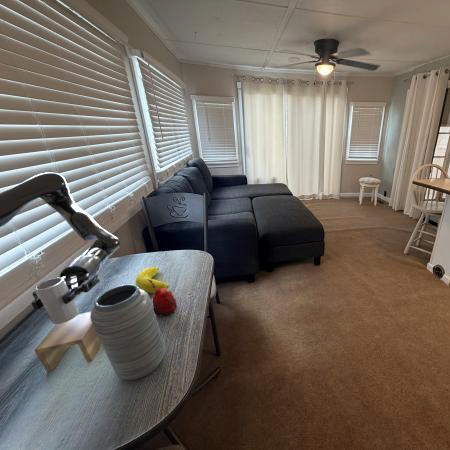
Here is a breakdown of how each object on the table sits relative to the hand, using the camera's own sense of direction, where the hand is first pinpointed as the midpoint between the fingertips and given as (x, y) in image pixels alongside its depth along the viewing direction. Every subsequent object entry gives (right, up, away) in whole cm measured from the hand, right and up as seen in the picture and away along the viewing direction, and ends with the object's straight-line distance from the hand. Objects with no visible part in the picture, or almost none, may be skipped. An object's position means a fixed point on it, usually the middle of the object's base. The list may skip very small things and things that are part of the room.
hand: (50, 303), depth 61 cm
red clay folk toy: (+17, -10, +23) cm, 30 cm away
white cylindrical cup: (-1, -5, +5) cm, 7 cm away
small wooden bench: (0, -16, +9) cm, 18 cm away
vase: (+22, -18, +4) cm, 28 cm away
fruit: (+2, -5, +38) cm, 38 cm away
